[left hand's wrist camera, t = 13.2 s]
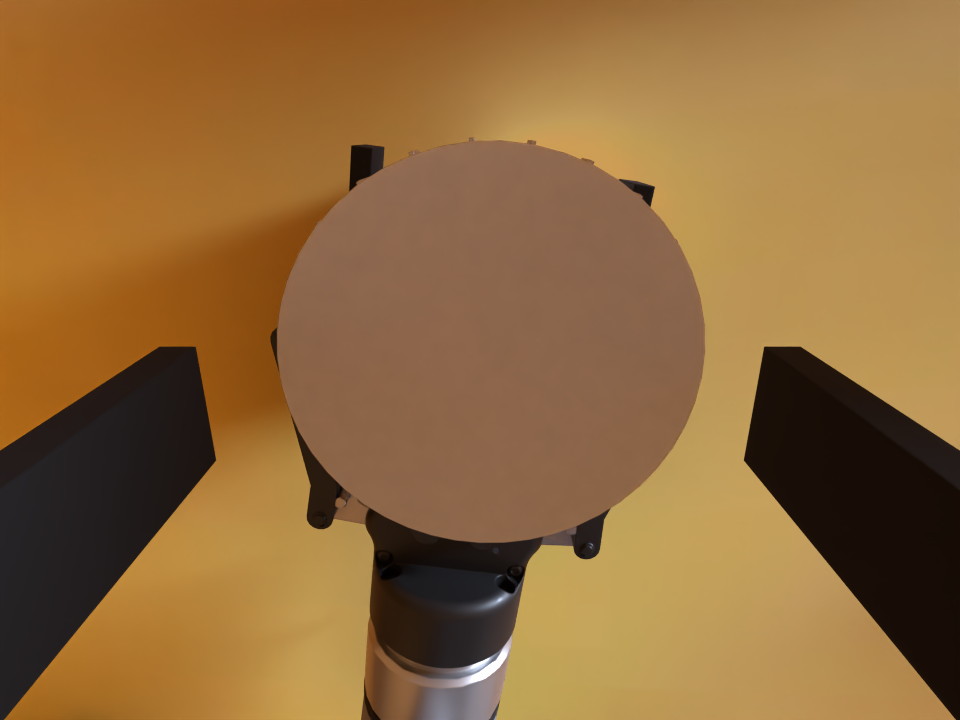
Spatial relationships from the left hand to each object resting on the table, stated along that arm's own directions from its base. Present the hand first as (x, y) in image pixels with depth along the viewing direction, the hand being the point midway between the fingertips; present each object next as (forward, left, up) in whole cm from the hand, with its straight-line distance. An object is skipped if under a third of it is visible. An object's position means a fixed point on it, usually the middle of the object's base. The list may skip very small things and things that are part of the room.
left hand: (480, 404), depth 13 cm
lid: (0, 0, -2) cm, 2 cm away
